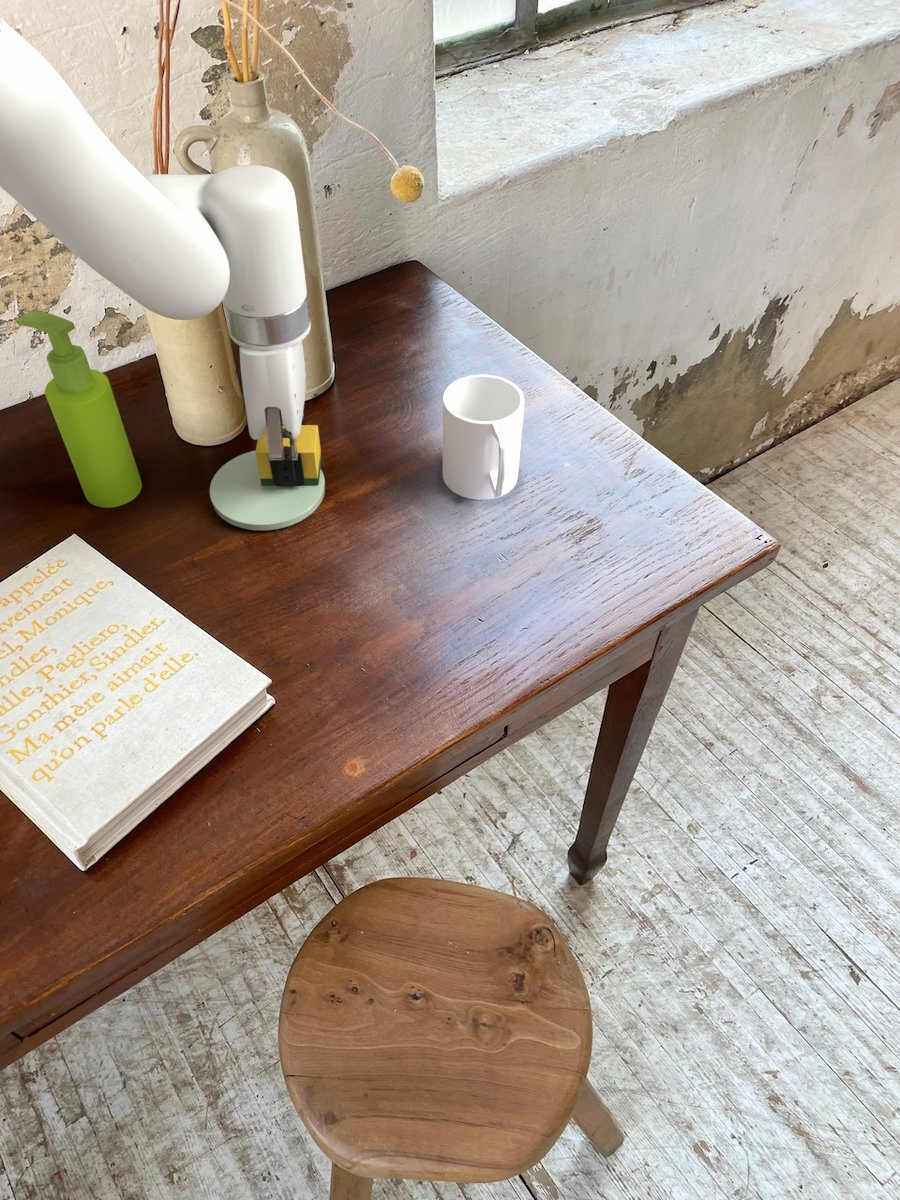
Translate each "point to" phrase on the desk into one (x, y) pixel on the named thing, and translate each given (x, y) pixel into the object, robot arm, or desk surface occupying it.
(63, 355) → the soap dispenser
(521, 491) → the desk surface
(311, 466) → the sponge
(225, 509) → the plate
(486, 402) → the cup
